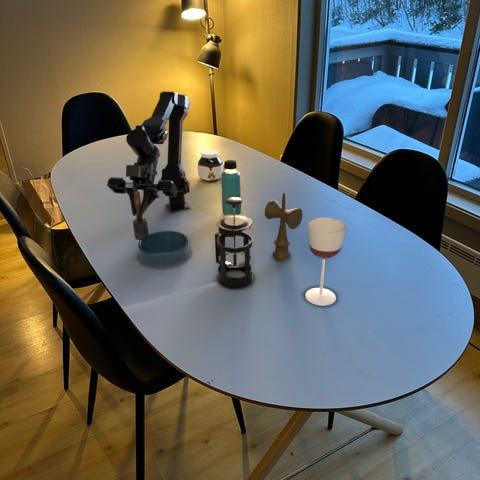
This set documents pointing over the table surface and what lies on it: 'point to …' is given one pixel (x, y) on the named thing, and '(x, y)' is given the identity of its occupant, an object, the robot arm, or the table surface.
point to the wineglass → (324, 252)
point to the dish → (163, 248)
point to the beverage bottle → (230, 187)
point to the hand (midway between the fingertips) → (137, 215)
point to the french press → (233, 256)
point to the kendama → (283, 225)
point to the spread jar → (210, 166)
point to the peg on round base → (139, 221)
